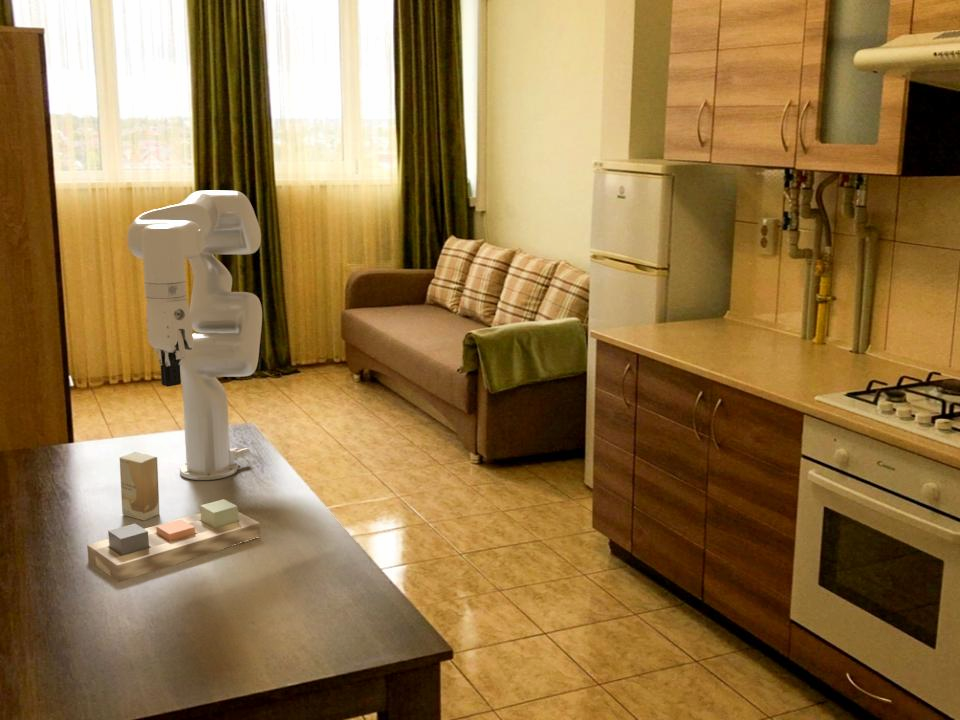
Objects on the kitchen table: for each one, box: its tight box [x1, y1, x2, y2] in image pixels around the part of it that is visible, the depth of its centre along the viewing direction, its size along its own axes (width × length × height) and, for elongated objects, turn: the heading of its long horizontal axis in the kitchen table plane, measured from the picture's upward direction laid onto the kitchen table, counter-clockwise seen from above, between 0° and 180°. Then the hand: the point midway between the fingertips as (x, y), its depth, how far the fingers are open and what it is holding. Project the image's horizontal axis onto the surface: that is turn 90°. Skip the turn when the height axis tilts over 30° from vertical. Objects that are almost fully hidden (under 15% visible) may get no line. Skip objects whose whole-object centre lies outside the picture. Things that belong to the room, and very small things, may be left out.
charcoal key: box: [107, 523, 149, 556], centre depth 181 cm, size 5×5×4 cm
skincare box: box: [119, 451, 160, 521], centre depth 202 cm, size 6×4×12 cm
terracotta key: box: [155, 518, 195, 542], centre depth 187 cm, size 5×5×4 cm
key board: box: [86, 511, 261, 583], centre depth 187 cm, size 28×12×3 cm, turn 134°
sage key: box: [199, 498, 239, 529], centre depth 193 cm, size 5×5×4 cm
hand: (171, 384), depth 197 cm, fingers closed
